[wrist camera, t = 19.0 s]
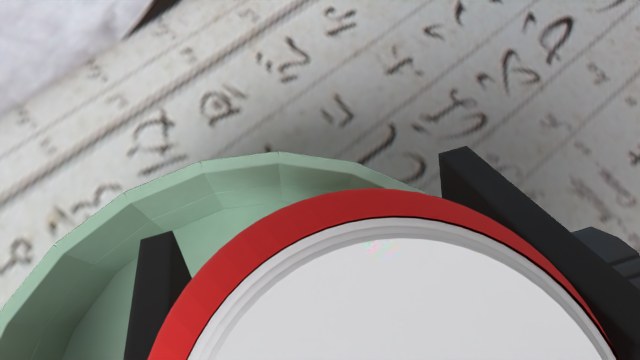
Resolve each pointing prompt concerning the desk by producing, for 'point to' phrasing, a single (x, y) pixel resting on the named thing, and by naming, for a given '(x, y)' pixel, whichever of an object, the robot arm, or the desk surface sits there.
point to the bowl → (148, 220)
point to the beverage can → (379, 289)
